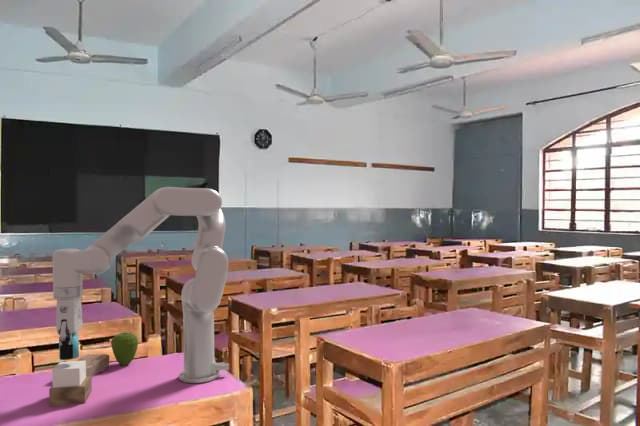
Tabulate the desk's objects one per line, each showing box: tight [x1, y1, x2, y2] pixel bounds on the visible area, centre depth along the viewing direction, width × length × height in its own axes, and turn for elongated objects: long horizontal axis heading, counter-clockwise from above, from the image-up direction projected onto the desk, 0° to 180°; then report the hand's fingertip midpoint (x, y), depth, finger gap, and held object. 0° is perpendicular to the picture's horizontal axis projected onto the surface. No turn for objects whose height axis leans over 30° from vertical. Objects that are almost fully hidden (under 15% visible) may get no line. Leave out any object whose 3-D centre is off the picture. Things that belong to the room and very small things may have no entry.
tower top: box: [51, 360, 86, 388], centre depth 144 cm, size 7×7×5 cm
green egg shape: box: [110, 331, 139, 366], centre depth 174 cm, size 9×8×12 cm
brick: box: [76, 353, 110, 378], centre depth 165 cm, size 17×8×5 cm, turn 171°
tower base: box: [48, 376, 93, 407], centre depth 144 cm, size 9×9×5 cm
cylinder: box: [58, 333, 80, 361], centre depth 144 cm, size 5×5×6 cm
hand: (69, 355), depth 144 cm, fingers closed on cylinder, 4 cm apart
